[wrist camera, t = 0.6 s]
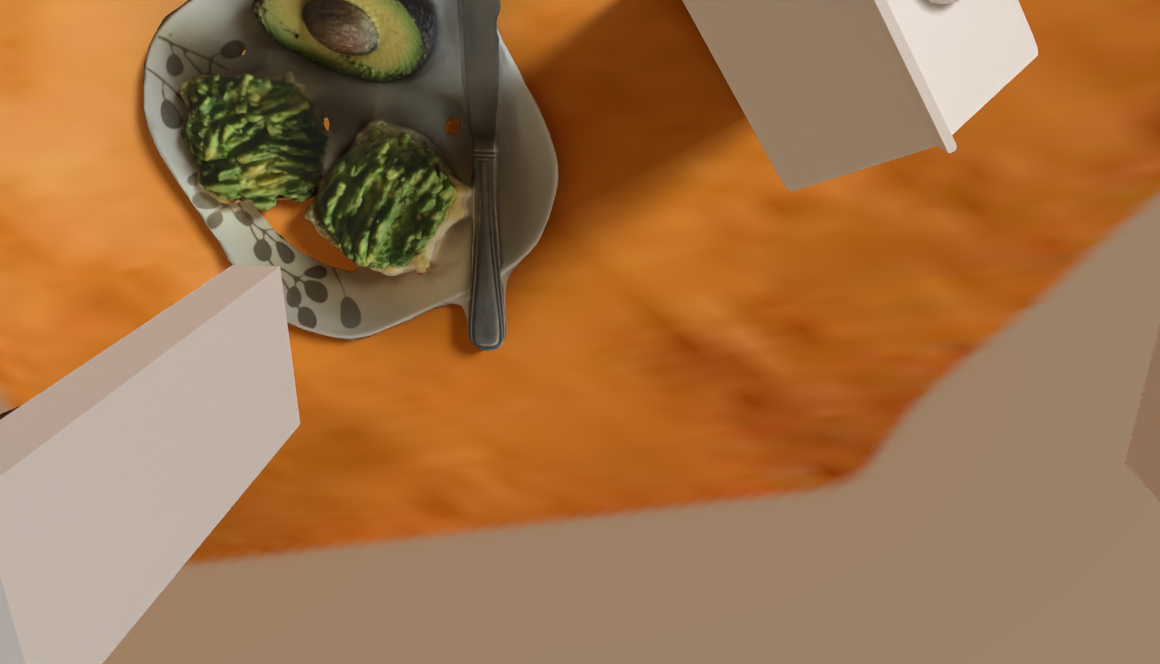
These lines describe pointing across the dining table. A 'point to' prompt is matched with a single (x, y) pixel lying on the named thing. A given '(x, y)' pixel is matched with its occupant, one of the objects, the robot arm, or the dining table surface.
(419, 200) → the salad plate
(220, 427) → the robot arm
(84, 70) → the dining table surface
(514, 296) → the dining table surface
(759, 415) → the dining table surface
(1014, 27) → the milk carton
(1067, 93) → the dining table surface
